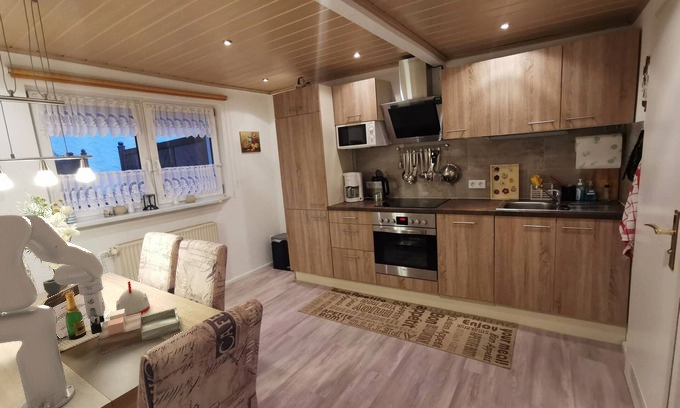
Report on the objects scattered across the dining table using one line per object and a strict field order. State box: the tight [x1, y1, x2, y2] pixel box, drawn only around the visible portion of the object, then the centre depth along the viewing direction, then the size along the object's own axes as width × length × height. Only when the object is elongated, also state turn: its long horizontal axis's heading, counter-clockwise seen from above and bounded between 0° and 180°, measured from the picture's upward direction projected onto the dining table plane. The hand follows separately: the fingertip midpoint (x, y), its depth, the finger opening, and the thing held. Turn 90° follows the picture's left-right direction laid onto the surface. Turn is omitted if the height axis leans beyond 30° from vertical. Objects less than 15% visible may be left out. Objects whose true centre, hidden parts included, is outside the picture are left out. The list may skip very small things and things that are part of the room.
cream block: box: [109, 309, 126, 322], centre depth 138 cm, size 5×5×4 cm
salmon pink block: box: [108, 317, 125, 335], centre depth 130 cm, size 5×5×4 cm
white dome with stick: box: [115, 280, 151, 316], centre depth 159 cm, size 14×14×15 cm
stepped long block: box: [97, 307, 181, 355], centre depth 139 cm, size 16×28×6 cm, turn 121°
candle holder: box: [42, 278, 63, 340], centre depth 139 cm, size 6×6×25 cm
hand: (98, 327), depth 131 cm, fingers open, 9 cm apart
